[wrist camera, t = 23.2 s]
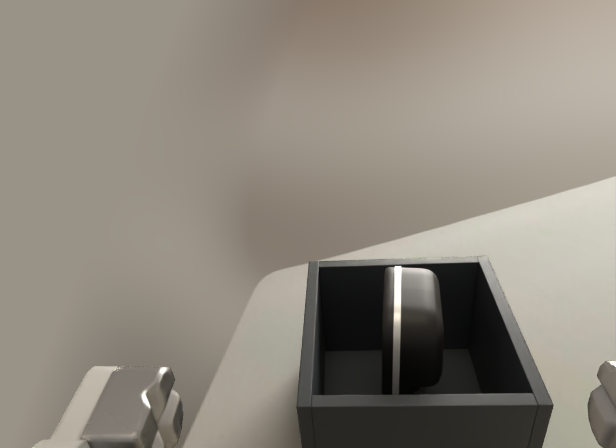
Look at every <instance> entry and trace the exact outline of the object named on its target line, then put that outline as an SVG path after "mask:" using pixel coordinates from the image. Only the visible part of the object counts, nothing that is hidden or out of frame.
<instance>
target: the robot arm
mask: <svg viewBox="0 0 616 448" xmlns="http://www.w3.org/2000/svg"><path fill="white" fill-rule="evenodd" d="M597 377H598V379H599V380H600V382H601V385H600V386H599V387H597V388H596V389H595V390H593V391H592V392H591V394H590V398H589V402H588V417H589V422H590V425H591V429H592V432H593V434H594V436H595V438H596V440H597V442H598V444H599V445H600V446H602V447H603V448H616V361H605V362H604V363H603V364H602V365H601V366H600V368H599V371H598V374H597ZM174 381H175V378H174V375H173V372H172V370H171V368H168V367H129V366H118V367H100V366H96V367H95V366H94V367H93V368H92V369H90V370H89V371H88V372H87V373H86V375H85V377H84V379H83V380H82V382H81V384H80V386H79V388H78V389H77V391H76V393H75V395H74V397H73V399H72V400H71V402H70V404H69V406H68V408H67V409H66V411H65V413H64V415H63V416H62V418H61V420H60V422H59V424H58V426H57V428H56V429H55V431H54V433H53V435H52V436H51V438H50V440H41V441H40V442H39V443H37V444H36V445H35V446H33V447H32V448H174V447H175V446H176V445H177V444H178V441H179V437H180V434H181V429H182V421H183V407H182V401H181V398H180V395H179V394H178V393H176V392H175V391H174V390H173V389H172V387H173V384H174Z"/></svg>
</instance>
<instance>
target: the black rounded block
mask: <svg viewBox="0 0 616 448" xmlns="http://www.w3.org/2000/svg"><path fill="white" fill-rule="evenodd" d="M443 348H444V328H443V318H442V308H441V298H440V288H439V281H438V279H437V277H436V275H435V274H434V273H433V272H432V271H430V270H428V269H423V268H401V266H395V267H388V268H386V270H385V274H384V293H383V314H382V395H417V394H426V393H425V387H430V386H434V385H436V384H437V383H438V382H439V380H440V377H441V375H442V369H443Z"/></svg>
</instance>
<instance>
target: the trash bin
mask: <svg viewBox="0 0 616 448" xmlns="http://www.w3.org/2000/svg"><path fill="white" fill-rule="evenodd" d="M395 266H401V268H423V269H428V270H430V271H432V272H433V273H434V274H435V275H436V277H437V279H438V281H439V288H440V298H441V308H442V318H443V328H444V348H443V369H442V375H441V377H440V380H439V382H438V383H437V384H436V385H434V386H430V387H425V393H426V394H417V395H382V314H383V293H384V274H385V270H386V268H388V267H395ZM553 406H554V405H553V403H552V400H551V398H550V396H549V394H548V391H547V389H546V387H545V385H544V382H543V380H542V378H541V376H540V373H539V371H538V369H537V367H536V364H535V362H534V360H533V358H532V355H531V353H530V351H529V349H528V346H527V344H526V342H525V340H524V337H523V335H522V333H521V331H520V329H519V326H518V324H517V322H516V320H515V317H514V315H513V313H512V311H511V308H510V306H509V304H508V302H507V299H506V297H505V295H504V293H503V290H502V288H501V286H500V284H499V281H498V279H497V277H496V275H495V272H494V270H493V268H492V266H491V263H490V261H489V259H488V257H487V256H468V257H437V258H405V259H374V260H342V261H319V262H318V261H315V262H309V266H308V278H307V290H306V302H305V314H304V326H303V338H302V350H301V362H300V374H299V386H298V398H297V413H298V420H299V428H300V435H301V443H302V448H542V446H543V442H544V438H545V435H546V431H547V427H548V424H549V420H550V417H551V413H552V409H553Z"/></svg>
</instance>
